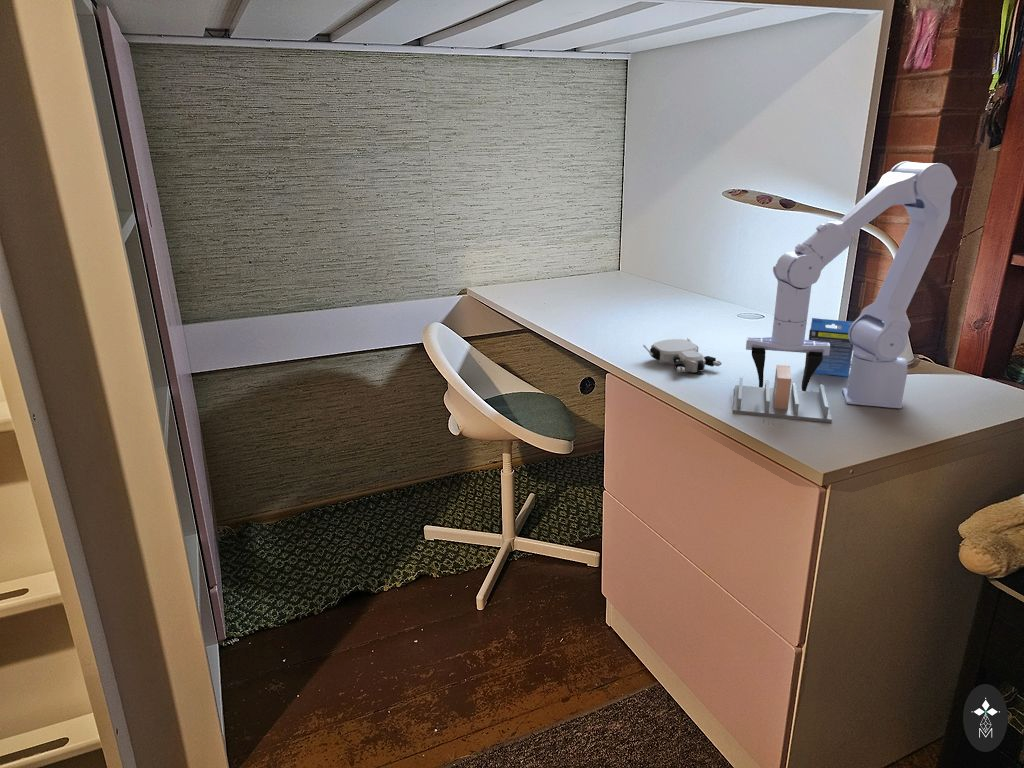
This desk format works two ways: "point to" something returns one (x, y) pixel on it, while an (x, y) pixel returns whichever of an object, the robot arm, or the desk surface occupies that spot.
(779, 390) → the tile
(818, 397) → the rack
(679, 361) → the robot toy
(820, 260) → the robot arm
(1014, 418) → the desk surface
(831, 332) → the label tape box
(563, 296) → the desk surface
